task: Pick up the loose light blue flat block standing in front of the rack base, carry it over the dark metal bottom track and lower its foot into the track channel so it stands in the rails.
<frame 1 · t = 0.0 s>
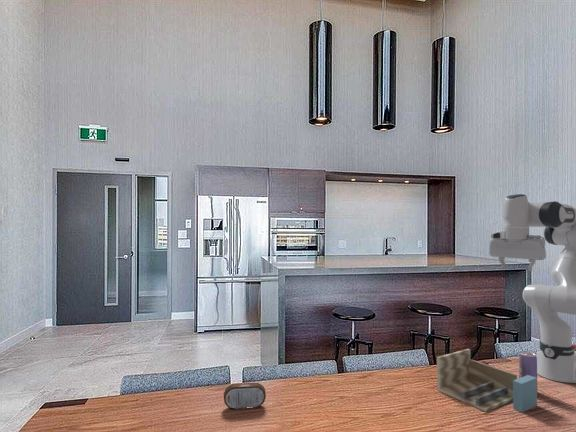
hand: (516, 269, 147), 48 cm above the table, fingers open, 8 cm apart
beverage can: (528, 392, 145), on the table
rack: (476, 394, 143), on the table
light blue flat block: (525, 407, 133), on the table
tin: (244, 408, 132), on the table
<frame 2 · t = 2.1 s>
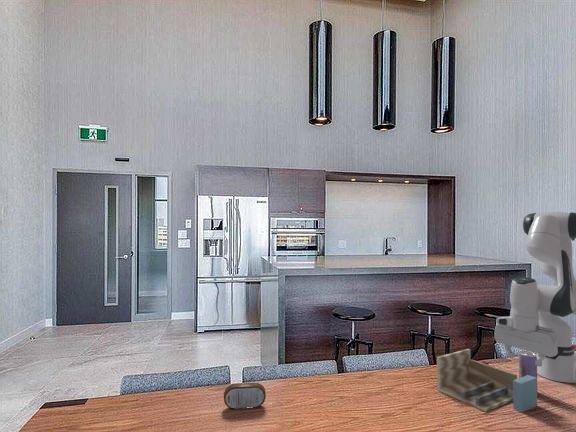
hand: (524, 361, 133), 16 cm above the table, fingers open, 8 cm apart
nothing on the table moved.
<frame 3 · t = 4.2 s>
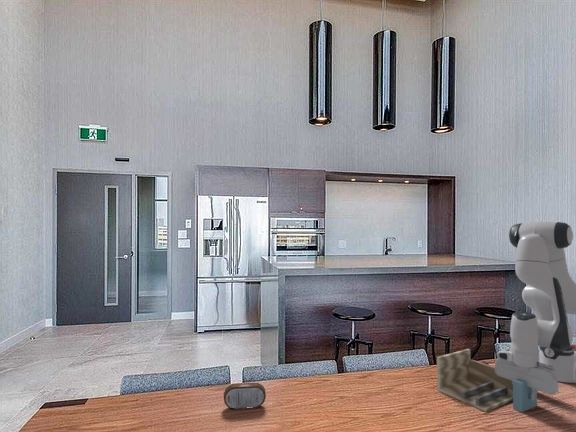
hand: (525, 396, 133), 4 cm above the table, fingers closed on light blue flat block, 3 cm apart
light blue flat block: (525, 407, 133), on the table, touching gripper
everything else where it was.
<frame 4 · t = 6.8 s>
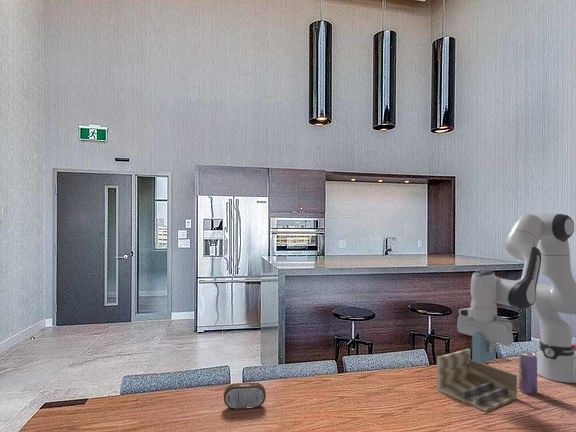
hand: (484, 350, 140), 18 cm above the table, fingers closed on light blue flat block, 3 cm apart
light blue flat block: (484, 360, 140), point 15 cm above the table, touching gripper
everything else where it was.
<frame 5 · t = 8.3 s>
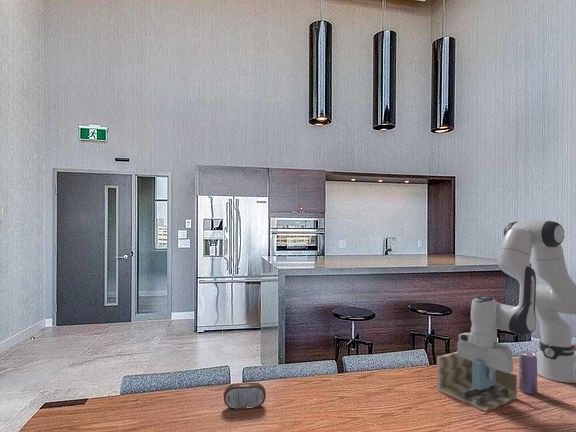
hand: (484, 376, 139), 8 cm above the table, fingers closed on light blue flat block, 3 cm apart
light blue flat block: (484, 386, 139), point 5 cm above the table, touching gripper
everything else where it was.
when the fingers open (6 cm above the table, at t = 9.5 s): light blue flat block drops 1 cm, resting on rack.
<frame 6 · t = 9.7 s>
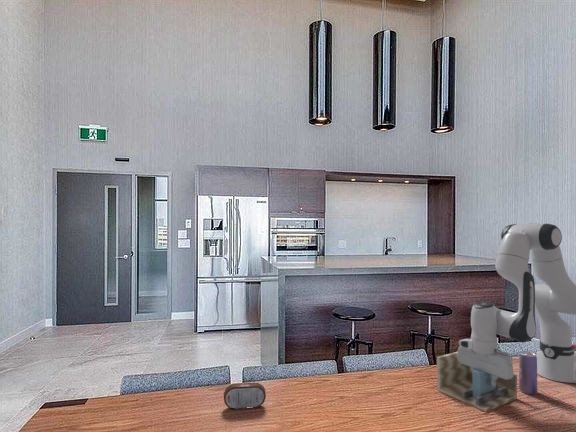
hand: (484, 382, 139), 6 cm above the table, fingers open, 5 cm apart
light blue flat block: (484, 396, 139), point 1 cm above the table, touching rack
everything else where it was.
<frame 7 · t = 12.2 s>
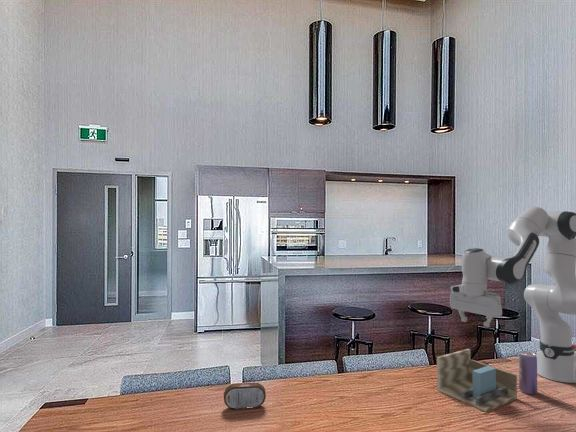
hand: (475, 324, 147), 26 cm above the table, fingers open, 8 cm apart
nothing on the table moved.
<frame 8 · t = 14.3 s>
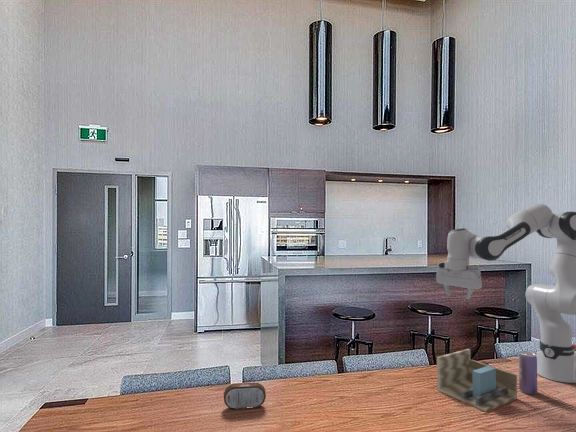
hand: (458, 296, 162), 34 cm above the table, fingers open, 8 cm apart
nothing on the table moved.
at the end: light blue flat block inside the target area on the rack (0.4 cm from its centre), point 1.0 cm above the rack's base; light blue flat block tilted 0°; the gripper is holding nothing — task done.
